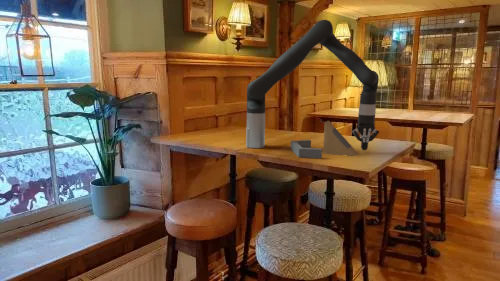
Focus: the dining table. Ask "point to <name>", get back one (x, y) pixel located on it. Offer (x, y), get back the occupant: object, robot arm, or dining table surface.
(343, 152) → the sandwich container
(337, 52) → the robot arm
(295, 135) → the dining table surface
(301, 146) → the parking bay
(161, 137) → the dining table surface
